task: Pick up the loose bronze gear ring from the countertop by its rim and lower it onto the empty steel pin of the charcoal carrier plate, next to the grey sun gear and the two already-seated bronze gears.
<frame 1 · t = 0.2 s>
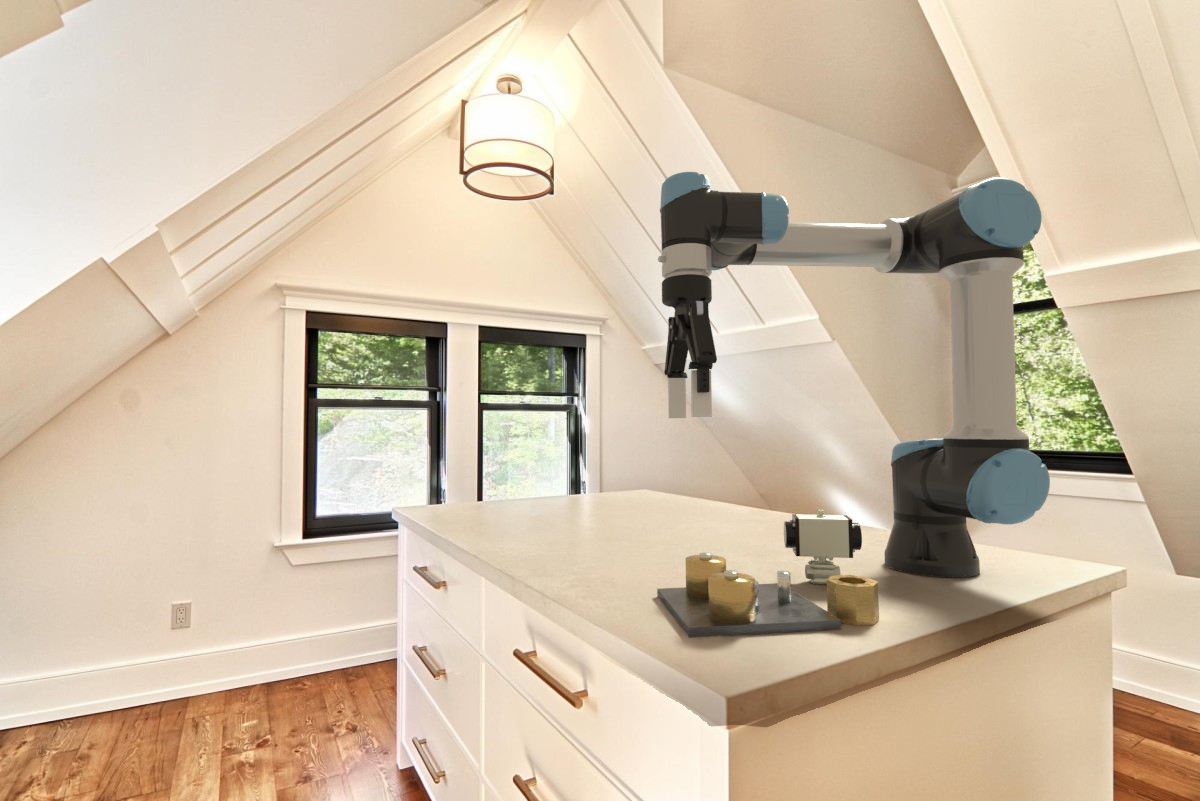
hand: (688, 417, 90), 27 cm above the counter, fingers open, 13 cm apart
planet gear: (853, 617, 81), on the counter
carrier: (740, 611, 84), on the counter
pneumatic valve: (822, 583, 99), on the counter
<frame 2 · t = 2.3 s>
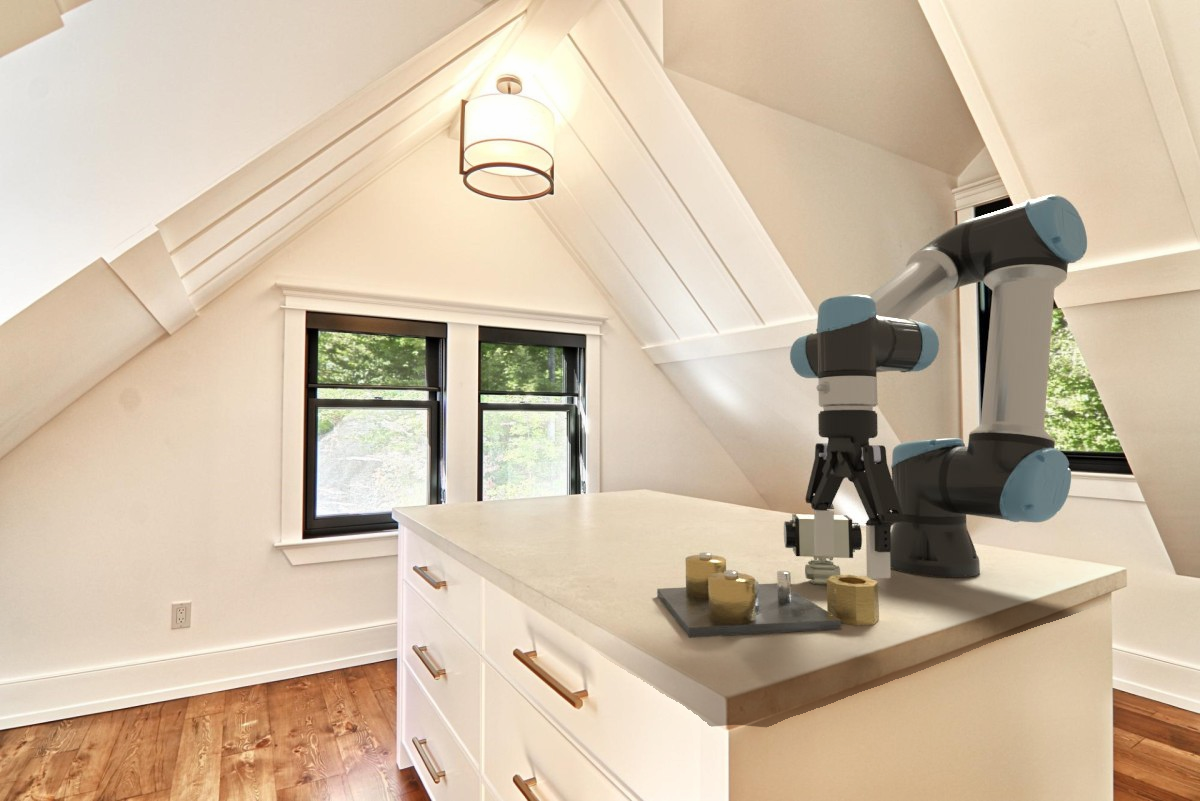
hand: (849, 565, 81), 7 cm above the counter, fingers open, 13 cm apart
nothing on the counter moved.
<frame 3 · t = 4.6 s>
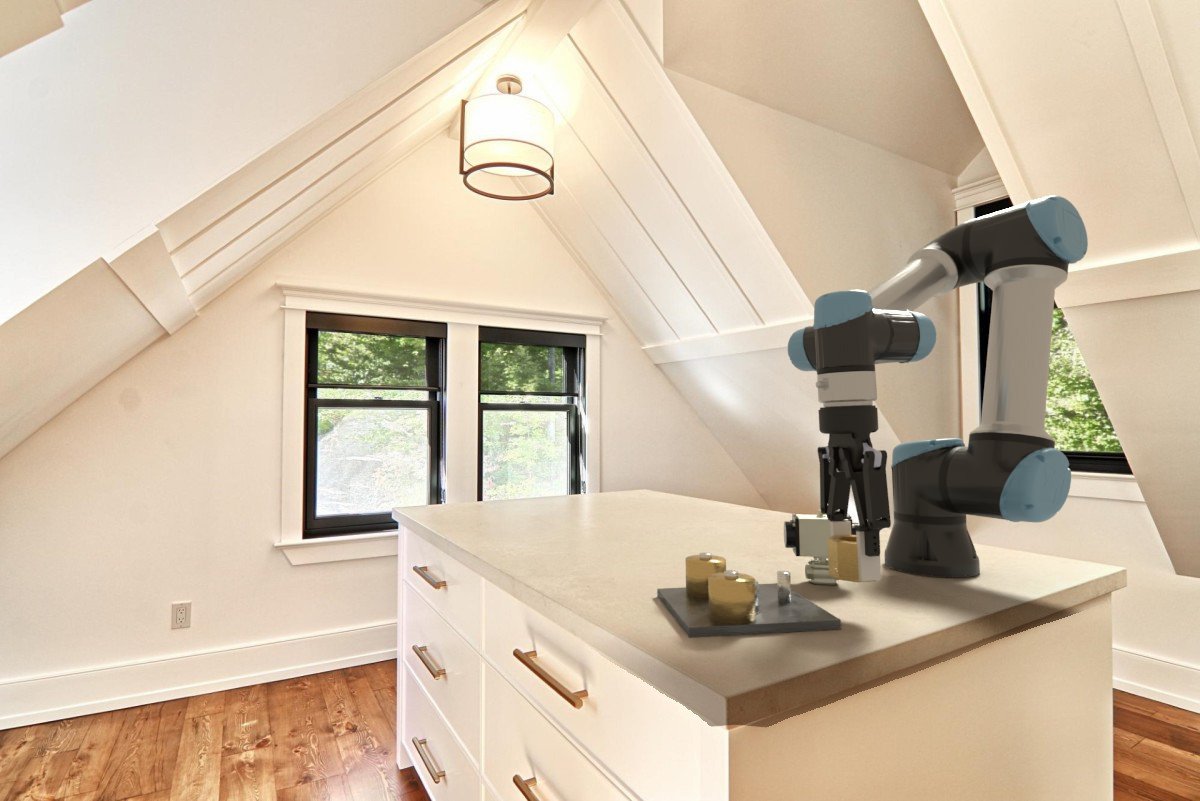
hand: (855, 573, 81), 6 cm above the counter, fingers closed on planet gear, 6 cm apart
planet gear: (854, 575, 81), point 6 cm above the counter, touching gripper
everything else where it was.
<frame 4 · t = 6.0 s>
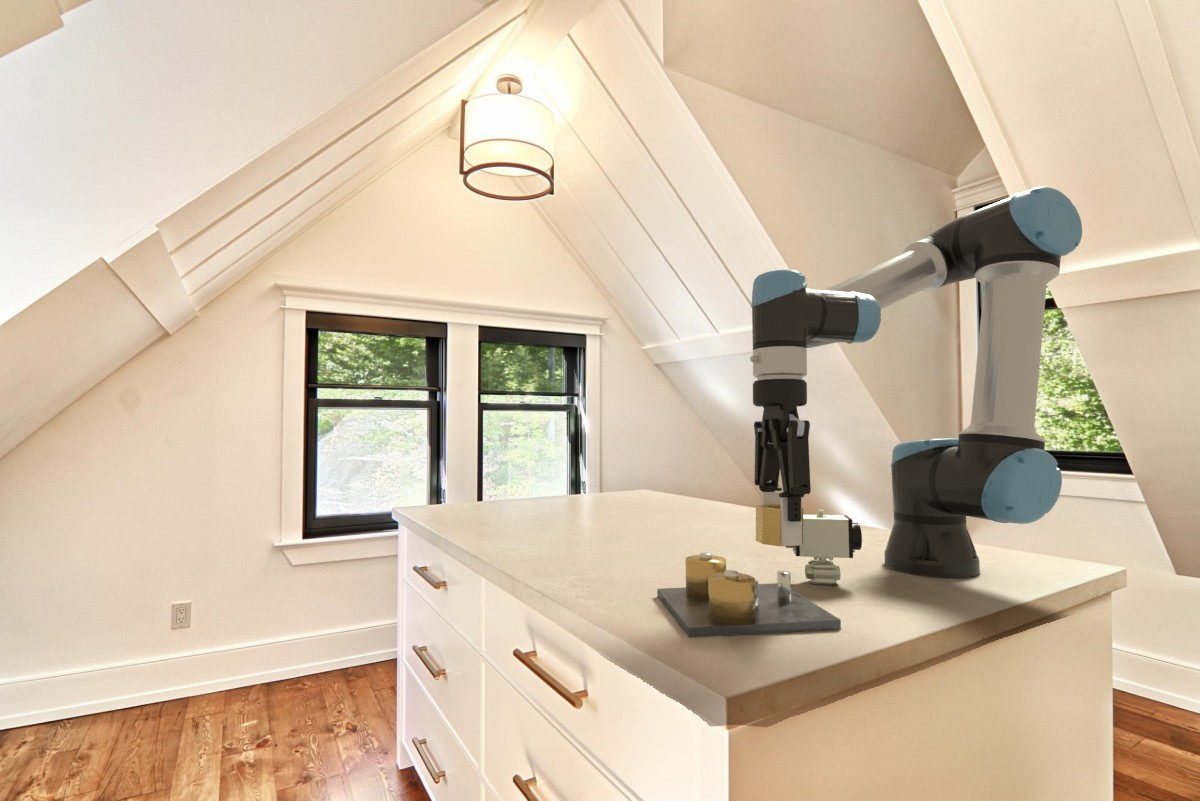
hand: (780, 539, 85), 10 cm above the counter, fingers closed on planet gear, 6 cm apart
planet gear: (779, 542, 85), point 10 cm above the counter, touching gripper
everything else where it was.
when the fingers open (1 cm above the counter, at t = 7.6 s): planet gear stays where it is, resting on carrier.
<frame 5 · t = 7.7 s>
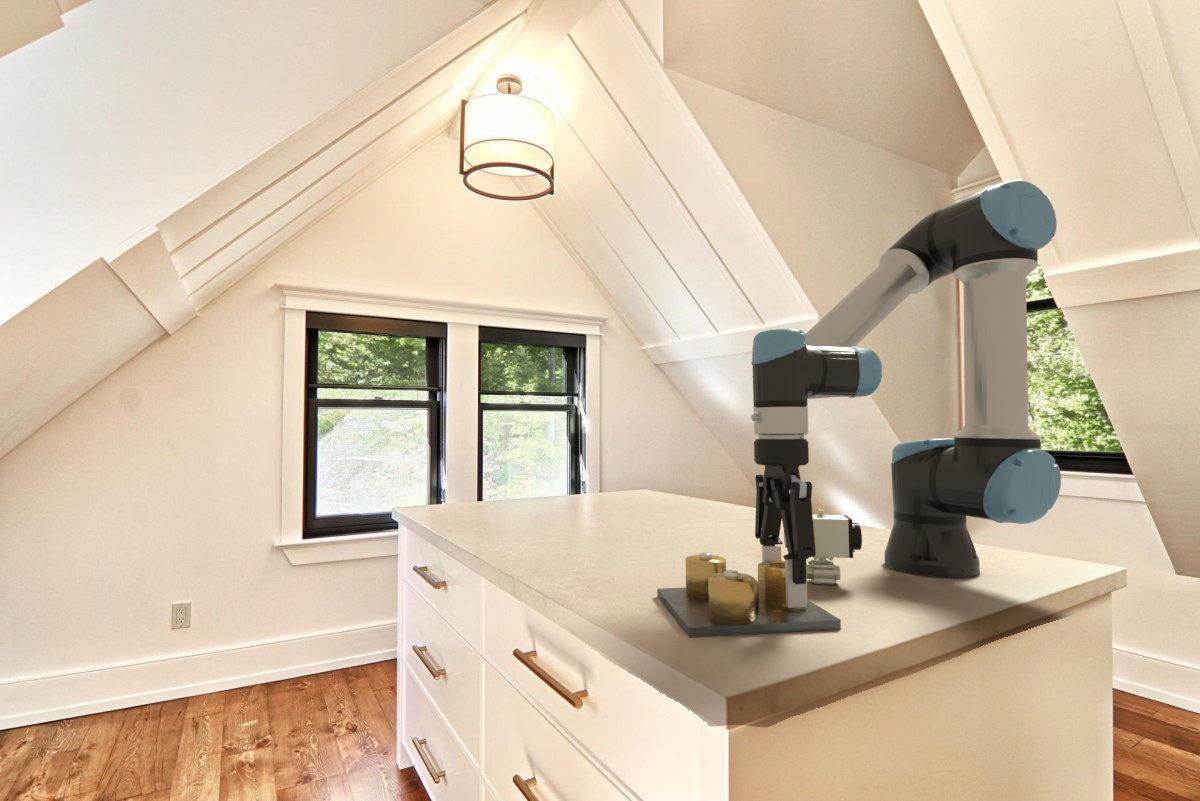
hand: (783, 597, 85), 2 cm above the counter, fingers open, 7 cm apart
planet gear: (782, 600, 85), point 1 cm above the counter, touching carrier
everything else where it was.
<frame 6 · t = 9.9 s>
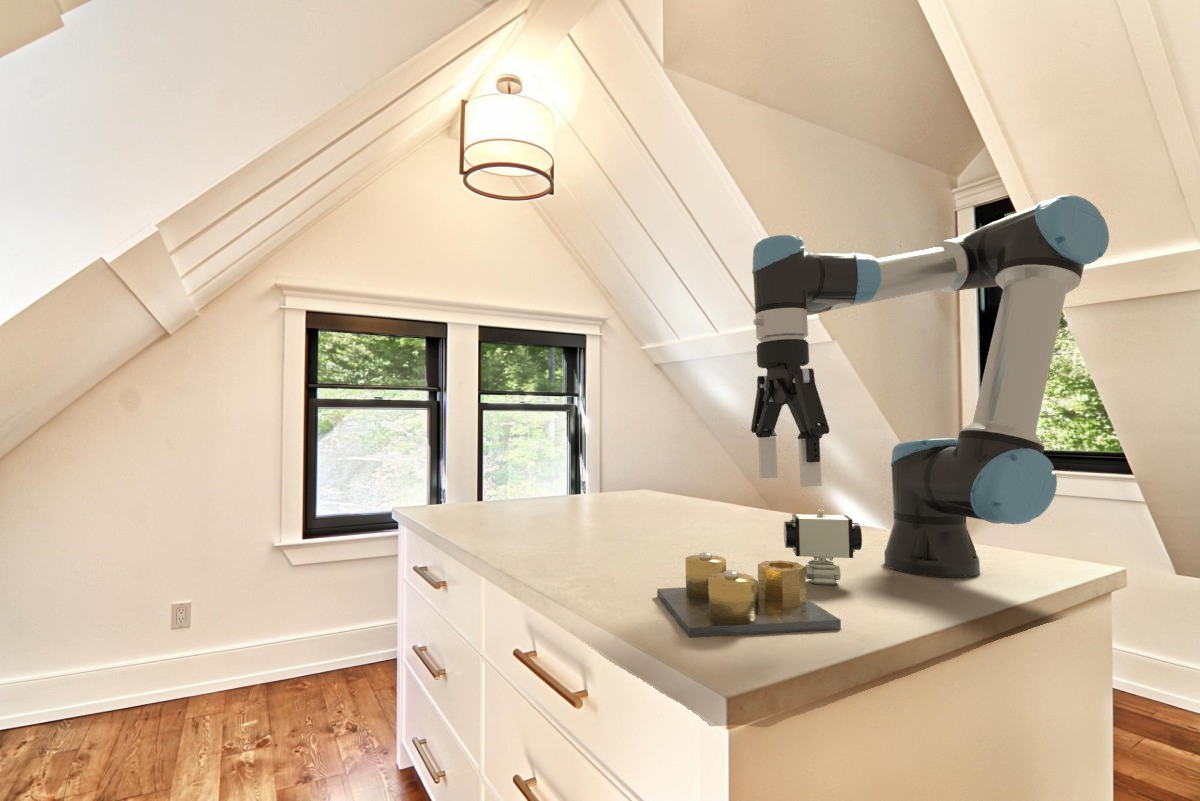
hand: (788, 481, 89), 18 cm above the counter, fingers open, 13 cm apart
nothing on the counter moved.
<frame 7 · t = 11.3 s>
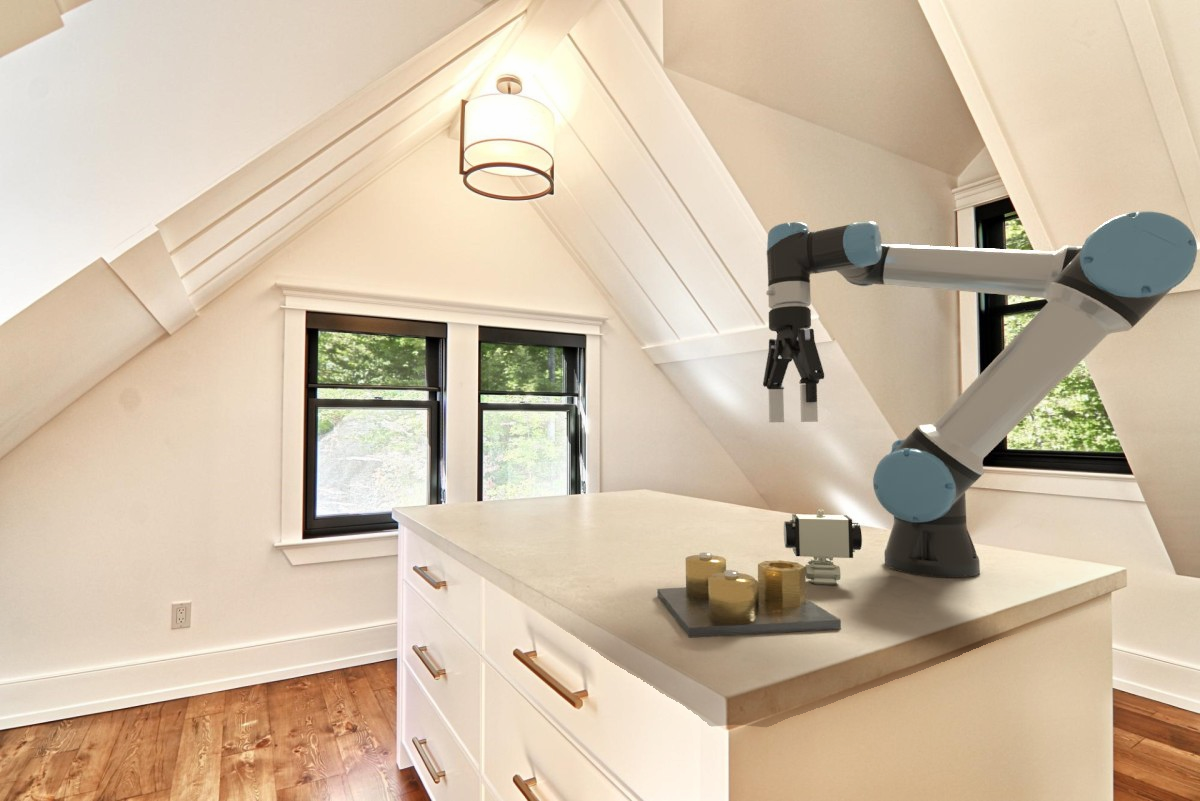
hand: (792, 422, 110), 27 cm above the counter, fingers open, 13 cm apart
nothing on the counter moved.
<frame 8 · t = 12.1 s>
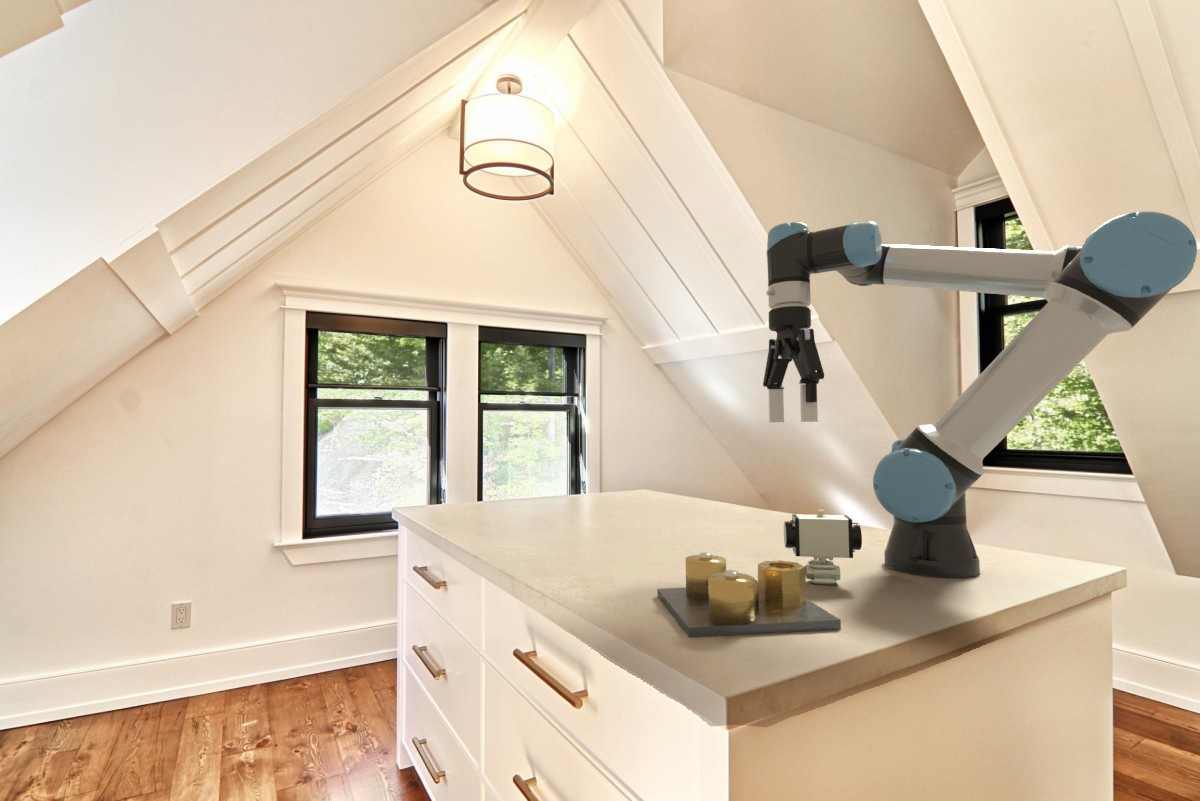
hand: (791, 422, 110), 27 cm above the counter, fingers open, 13 cm apart
nothing on the counter moved.
at the end: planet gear 0.4 cm from the target spot on the carrier, point 1.2 cm above the carrier's base; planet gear tilted 0°; the gripper is holding nothing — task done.
